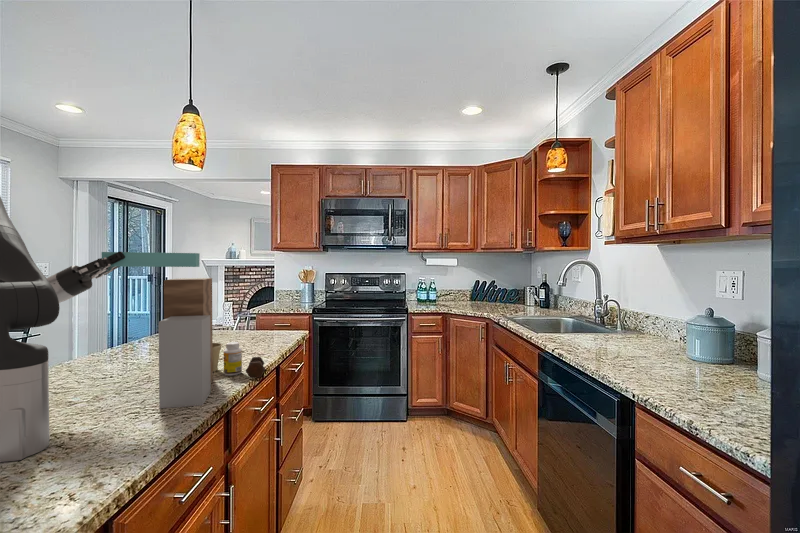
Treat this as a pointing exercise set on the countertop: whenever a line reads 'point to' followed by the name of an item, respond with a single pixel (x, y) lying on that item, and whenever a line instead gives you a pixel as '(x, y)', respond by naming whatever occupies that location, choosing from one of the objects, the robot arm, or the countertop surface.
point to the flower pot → (216, 355)
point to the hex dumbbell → (255, 367)
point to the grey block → (184, 361)
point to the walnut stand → (189, 301)
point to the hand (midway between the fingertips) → (126, 254)
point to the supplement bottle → (232, 359)
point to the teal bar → (156, 259)
